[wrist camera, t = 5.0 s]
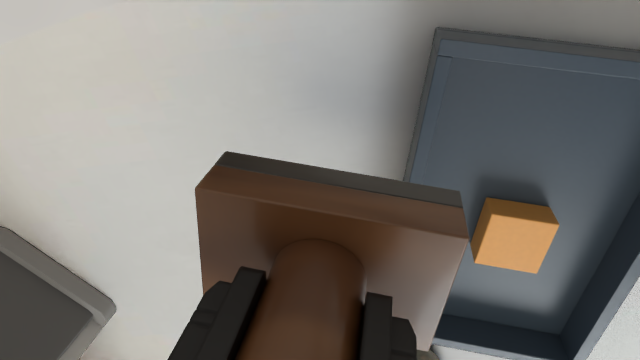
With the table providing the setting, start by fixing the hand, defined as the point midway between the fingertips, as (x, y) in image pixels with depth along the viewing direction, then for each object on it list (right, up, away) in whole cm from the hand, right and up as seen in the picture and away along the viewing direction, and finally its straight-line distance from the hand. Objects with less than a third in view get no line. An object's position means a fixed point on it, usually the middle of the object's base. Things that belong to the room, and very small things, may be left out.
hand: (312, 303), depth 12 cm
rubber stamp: (+1, +2, +3) cm, 4 cm away
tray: (+13, +2, +16) cm, 21 cm away
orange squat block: (+13, 0, +16) cm, 20 cm away
